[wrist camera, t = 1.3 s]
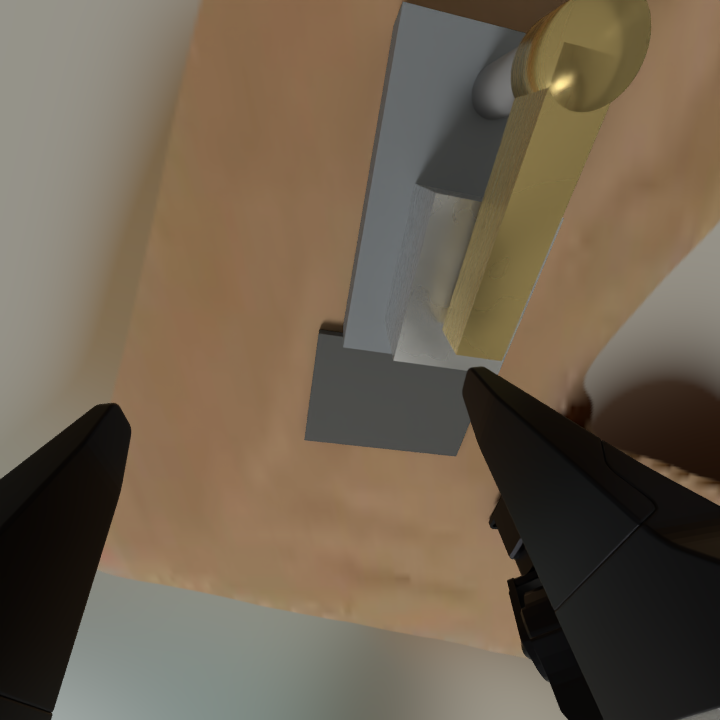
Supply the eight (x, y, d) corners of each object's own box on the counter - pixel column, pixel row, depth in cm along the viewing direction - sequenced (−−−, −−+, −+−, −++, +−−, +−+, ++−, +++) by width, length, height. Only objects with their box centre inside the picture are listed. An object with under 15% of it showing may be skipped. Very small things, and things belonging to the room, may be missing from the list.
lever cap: (515, 203, 18) (563, 218, 14) (469, 333, 21) (497, 374, 17) (414, 183, 17) (436, 193, 13) (384, 320, 20) (393, 360, 16)
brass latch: (613, 22, 11) (673, -6, 9) (491, 336, 16) (511, 362, 14) (530, 0, 10) (573, -34, 8) (433, 328, 15) (445, 353, 13)
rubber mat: (492, 354, 25) (495, 358, 25) (453, 450, 30) (455, 456, 29) (319, 329, 24) (318, 333, 23) (305, 434, 28) (304, 440, 28)
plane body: (575, 70, 18) (715, 21, 11) (474, 345, 25) (521, 414, 18) (393, 25, 16) (426, -60, 10) (343, 325, 24) (342, 392, 17)
